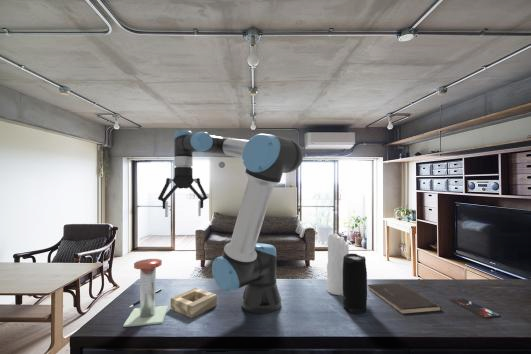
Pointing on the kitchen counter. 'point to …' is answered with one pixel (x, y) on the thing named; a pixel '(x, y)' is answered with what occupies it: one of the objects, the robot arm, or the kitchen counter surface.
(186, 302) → the block
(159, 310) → the sage pad
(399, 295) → the hardcover book
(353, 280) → the portable speaker
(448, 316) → the kitchen counter surface
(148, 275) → the steel peg
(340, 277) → the decorative vase
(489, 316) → the smartphone
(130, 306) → the pen
